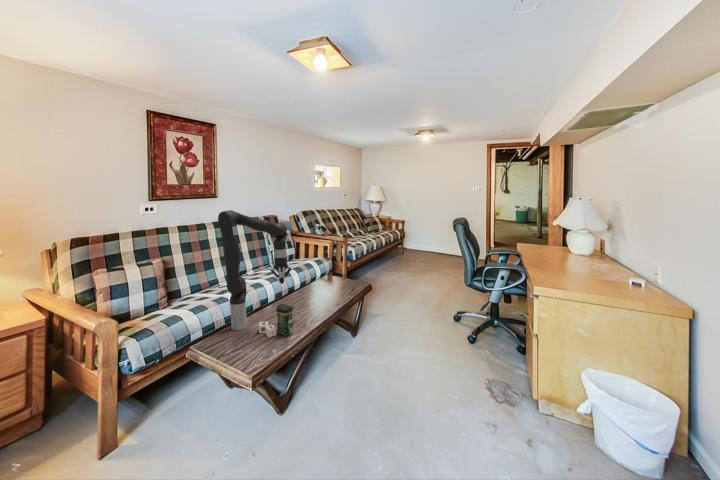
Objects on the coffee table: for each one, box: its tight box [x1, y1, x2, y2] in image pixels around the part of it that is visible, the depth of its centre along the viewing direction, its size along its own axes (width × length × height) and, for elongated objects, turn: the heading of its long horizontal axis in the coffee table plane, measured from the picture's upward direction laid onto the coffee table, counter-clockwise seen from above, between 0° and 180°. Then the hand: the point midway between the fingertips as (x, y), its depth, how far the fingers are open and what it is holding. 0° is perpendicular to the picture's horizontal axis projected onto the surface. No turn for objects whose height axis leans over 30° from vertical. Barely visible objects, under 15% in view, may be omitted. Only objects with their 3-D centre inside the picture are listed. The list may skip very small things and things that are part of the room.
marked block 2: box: [265, 324, 277, 338], centre depth 178 cm, size 5×6×5 cm
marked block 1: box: [258, 321, 269, 334], centre depth 183 cm, size 5×5×5 cm
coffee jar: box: [276, 303, 294, 337], centre depth 179 cm, size 10×8×19 cm
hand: (281, 283), depth 180 cm, fingers closed
